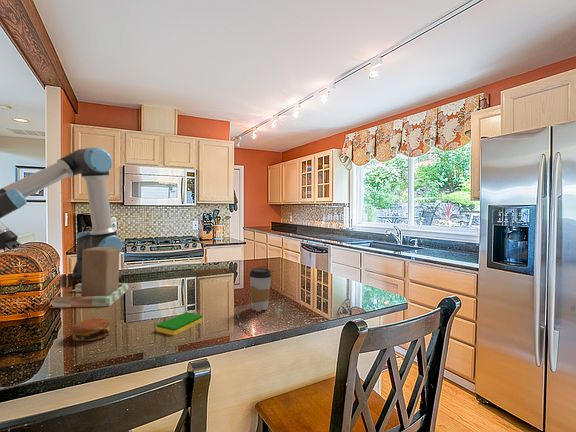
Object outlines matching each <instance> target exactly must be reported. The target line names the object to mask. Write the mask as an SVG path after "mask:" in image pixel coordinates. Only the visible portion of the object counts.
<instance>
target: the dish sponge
mask: <svg viewBox="0 0 576 432" xmlns="http://www.w3.org/2000/svg"><path fill="white" fill-rule="evenodd" d="M202 322H203V315H202V314H196V313H192V312H186V311H185V312H183V313H182V314H179V315H176V316H174V317H171V318H170V319H167V320H165V321H162V322H159V323H158V324H156V331H155V332H158V333H160V334H161V333H162V334H165V335H170V336H176V335H178V334H180V333H182V332H184V331H186V330H188V329H190V328H192V327H194V326H196V325H198V324H201V323H202Z"/></svg>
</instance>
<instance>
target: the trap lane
mask: <svg viewBox="0 0 576 432" xmlns="http://www.w3.org/2000/svg"><path fill="white" fill-rule="evenodd" d="M81 286H82V282H81V283H77V284H75V289H74V290H75V291H74V293H81ZM127 291H129V283H128V282H119V283H118V289H117V290H115V291H114V292H113V293H112V294H110V295H109V296H81V295H80V296H53V297H54V298H53V297H52V298H53V299H52V306H53V307H52V308H80V307H82V308H84V307H86V308H89V307H110V306H112V305H113V304H114V303H115V302H116V301H118V299H120V298H121V297H122V296H123V295H124V294H125V293H126V292H127Z"/></svg>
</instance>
